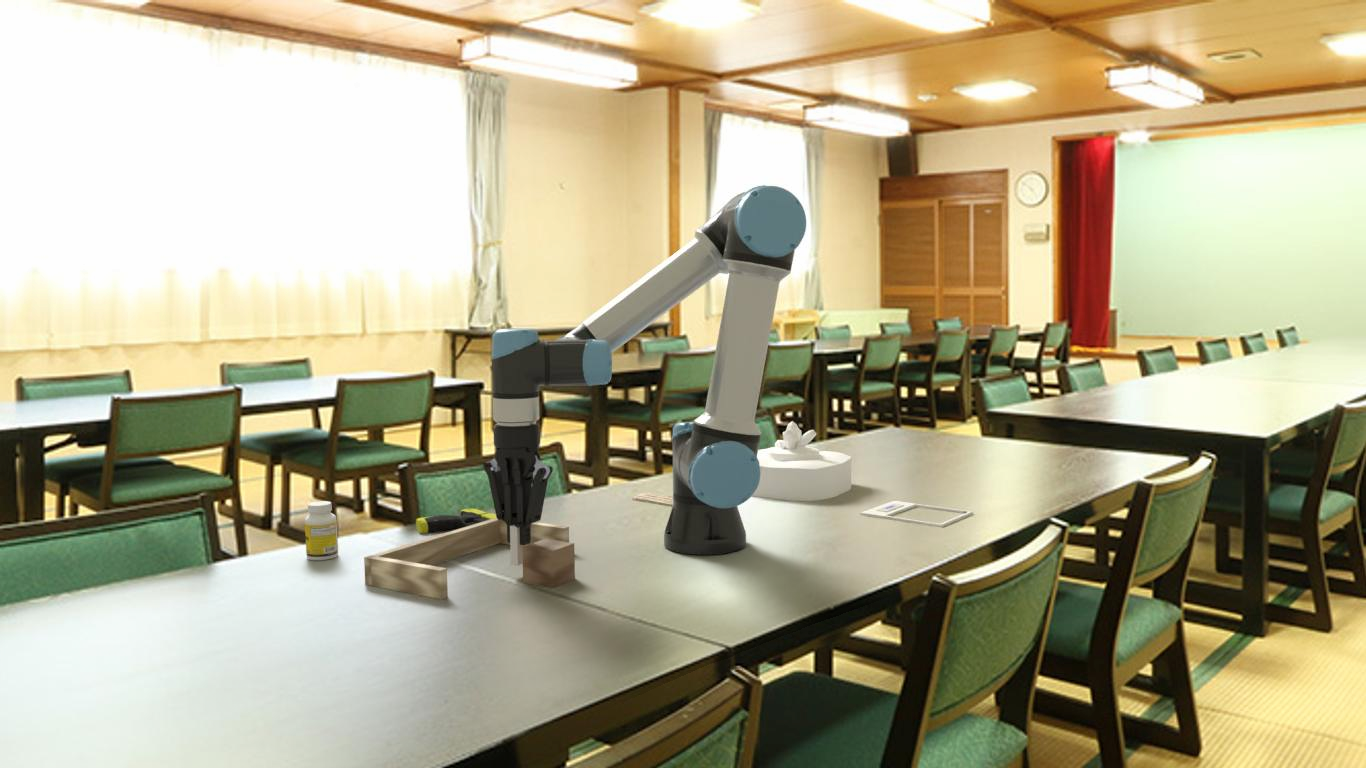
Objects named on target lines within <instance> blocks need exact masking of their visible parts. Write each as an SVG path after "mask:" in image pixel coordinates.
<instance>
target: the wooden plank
mask: <svg viewBox="0 0 1366 768" xmlns="http://www.w3.org/2000/svg"><path fill="white" fill-rule="evenodd" d="M631 500H632V501H636V502H642V503H648V504H655V505H660V506H664V507H665V506H667V507H671V508H672V506H673V496H670V495H669V496H668V495H663V494H657V493H653V492H652V493H651V492H640V493H638V494H636V495H634V496H633V497H632V498H631Z"/></svg>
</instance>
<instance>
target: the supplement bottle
mask: <svg viewBox="0 0 1366 768" xmlns="http://www.w3.org/2000/svg"><path fill="white" fill-rule="evenodd" d="M332 507H333V506H332V502H331V501H330V500H329V501H327V500H321V501H320V500H319V501H318V500H317V501H313V502H310V503H308V504H307V510H308V511H307V512H308V514H309V515H307V516H306V517H305V519H304V531H305V532H304V533H305V536H304V537H305V551H306V552H305V553H306V558H307V559H308V560H309V561H326V560H331V559H335V558H336V557H338V556H339V541H338V538H339V537H338V523H337V517H336V514H334V513H332V512H331V511H333V508H332Z"/></svg>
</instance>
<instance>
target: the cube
mask: <svg viewBox="0 0 1366 768" xmlns="http://www.w3.org/2000/svg"><path fill="white" fill-rule="evenodd" d="M522 556H523V564H522V583H523V584H529V585H536V586H542V587H548V588H551V589H552V588H555V587H558V586H561V585H563V584H565V583H568V582H569V581H572V580H575V578H576V572H575V571H576V568H575V567H576V566H575V565H576V564H575V561H576V560H575V542H571V541H569V542H563V541H556V540H549V539H543V540H541V541H538V542H535V543H532V544H529V545H526V546H523V547H522Z"/></svg>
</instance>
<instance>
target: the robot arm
mask: <svg viewBox="0 0 1366 768" xmlns="http://www.w3.org/2000/svg"><path fill="white" fill-rule="evenodd" d="M806 230H807V216H806V211H805V209H804V206H803V204H802V203H801V202H800V200H799V199H798V197H797V196H796V195H795V194H794V193H792V192H791V191H790V190H788V189H786V188H783V187H782V186H781V187H780V186H777V185H765V184H763V185H758V186H755V187H752V188H751V189H748V190H747V191H744V192H741V193H739V194H737V195H736V196H734V197H732V198H731V199H730V200H729V201H728V202H727V203H726V204H724V205H723V207H722V208H720V210H718V212H717V213H715V214H714V215H713V216H712V217H711V218H710V219H709V220H708V221H706V222H705V223H704V224H703V225H702V226H700V227H699V228H697V229H695V233H694V238H693V239H692V240H691V241H689V242H688V243H687V244H685V246H683V247H682V248H680V249H679V250H677V251H676V252H675V253H674V254H672V255H671V256H669V257H668V258H667V259H666V260H664V261H663V262H661V263H660V264H659V265H657V266H656V267H654V268H653V269H652V270H651V271H649V272H647V274H645V275H644V276H642V277H641V278H640V279H639V280H638V281H635V283H633V284H632V285H630V286H629V287H627V289H625V290H624V291H623V292H621V293H620V294H619V295H617V296H615V298H613V299H612V300H610V301H609V302H608V303H607V304H605V305H604V306H602V307H601V308H600V309H599V310H597V311H596V312H595V313H593V314H591V316H589V317H588V318H587V319H585V320H584V321H583V322H581V324H579V325H578V326H576V327H575V328H573V329H572V330H571V331H569V332H568V333H567V334H563V335H562V336H559V338H557V339H556V340H544V339H540V337H539V332H538V331H537V330H536V329H535V328H522V327H521V328H520V327H519V328H517V327H516V328H500V329H497V330H495V332H494V333H493V334H492V339H491V376H492V377H491V379H492V380H491V381H492V419H493V421H494V422H495V423H496V424H494V426H493V444H494V446H495V447H496V450H495V453H494V458H493V459H490V460H489V461H486V462H484V463H483V465H482V467H483V469H484V471H485V474H486V476H487V477H488V483H489V487H490V492H491V497H492V502H493V506H494V512H495V514H496V517H497V519H498V520H503V521H504V522H505V523H506V524H507V541H508V543H510V545H509V546H510V547H509V548H510V553H509V554H510V565H511V566H513V565H514V566H520V565H523V556H522V547H523V546H526V545H528V544H530V542H531V528H530V527H531V524H532V523H534V522H541V519H542V514H543V510H544V509H543V508H544V502H545V499H546V498H545V497H546V492H547V487H548V481H549V478H550V477H551V475H552V474H553V470H554V469H553V467H552V466H551V465H548V466H547V465H545V464H544V462H542V461H541V455H540V453H539V446H540V444H541V428H540V426H541V425H540V424H539V423H538V422H537V421H538V420H540V387H549V386H588V387H593V386H599V385H607V384H609V383H610V382H611V380H612V374H613V373H612V372H613V353H614V352H616V351H617V350H619V348H621V347H622V346H624V344H626V343H627V342H629V341H631V340H632V339H633V338H634V337H635V336H637V335H638V334H640V333H641V332H642V331H643V330H645V329H647V328H648V327H649V326H651V325H652V324H653V323H655V322H656V321H657V320H658V319H659V318H661V317H663V316H664V315H665V314H666V313H668V312H669V311H671V310H672V309H674V307H676V306H678V304H680V303H681V302H682V301H684V300H685V299H687V298H688V297H689V296H691V295H692V294H694V293H695V292H696V291H698V290H699V289H700V288H701V287H703V286H704V285H706V284H707V283H708V282H710V281H711V280H712V279H714V278H715V277H716V276H717V275H719V274H725V275H728V279H727V285H726V290H725V296H724V302H723V308H722V313H721V319H720V325H719V329H718V335H717V341H716V347H715V351H714V356H713V357H714V359H713V363H712V369H711V374H710V380H709V385H708V391H707V396H706V404H705V408H704V412H703V413H702V414H701V415H699V416H697V417H696V418H695V419H693V421H690V422H687V421H685V422H677V423H675V425H673V427H672V436H671V442H672V497H673V506H672V507H671V510H670V514H669V517H668V520H667V523H666V526H665V530H664V533H663V546H664V547H665V548H666V549H668V550H669V551H673V552H674V553H675V552H676V553H681V554H689V555H701V556H702V555H703V556H704V555H721V554H728V553H733V552H737V551H740V550H742V549H744V548H745V547H746V546H747V531H746V529H745V526H744V523H743V520H742V517H741V513H740V511H739V508H738V506H740V505H742V504H744V503H746V502H747V501H748V500H749V499H751V497H753V496H752V495H753V494H754V492H755V491H756V489H757V487H758V485H759V481H760V475H761V472H760V465H759V460H758V458H757V454H758V450H759V449H760V448H759V447H760V442H761V437H762V431H761V430H760V428H759V427H758V425H757V424H756V421H755V419H756V414H757V409H758V403H759V397H760V393H761V385H762V381H763V376H764V369H765V363H766V358H767V353H768V347H769V342H770V337H771V331H772V326H773V319H774V315H775V309H776V304H777V298H778V293H779V287H780V283H781V282H782V281H783V280H784V279H786V277H787V276H789V275H790V274H791V271H792V265H793V262H794V256H795V251H796V249H797V248H798V247H799V246H800V244H801V242H802V241H803V239H804V237H805V233H806Z"/></svg>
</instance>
